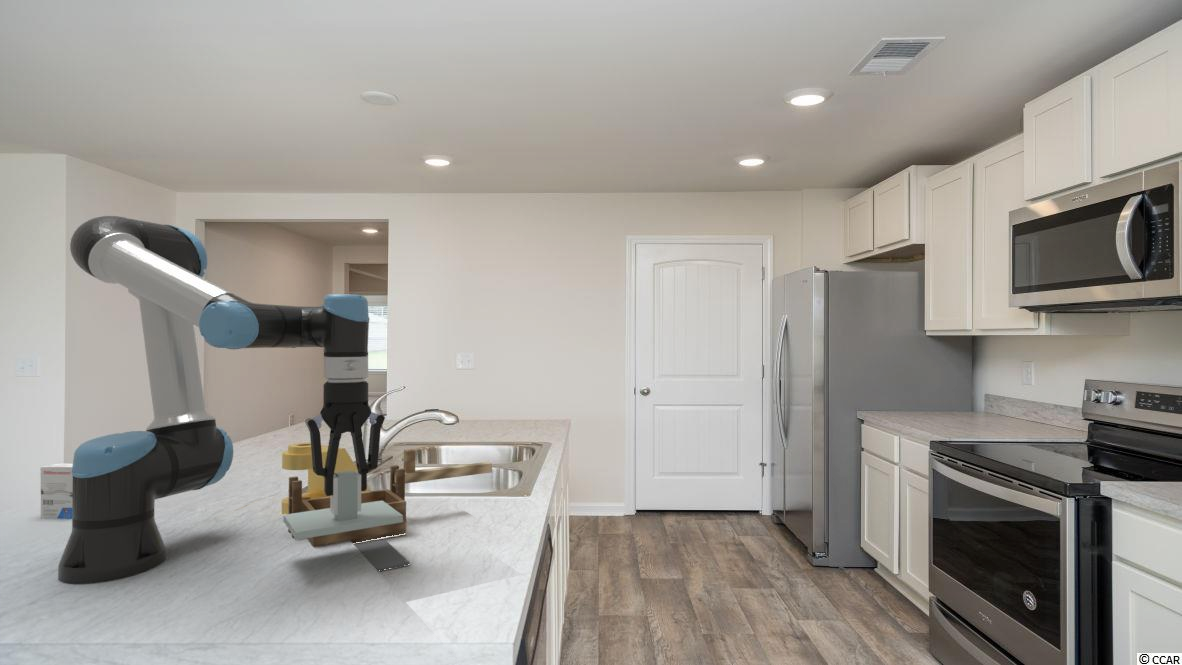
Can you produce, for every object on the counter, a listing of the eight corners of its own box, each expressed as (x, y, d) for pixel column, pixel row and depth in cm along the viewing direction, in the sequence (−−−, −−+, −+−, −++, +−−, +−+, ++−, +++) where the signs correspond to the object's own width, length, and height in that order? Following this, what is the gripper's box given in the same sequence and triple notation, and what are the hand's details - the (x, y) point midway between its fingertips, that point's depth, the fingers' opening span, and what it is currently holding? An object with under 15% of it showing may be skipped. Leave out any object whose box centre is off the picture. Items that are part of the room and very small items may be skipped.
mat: (288, 590, 102) (288, 586, 102) (274, 562, 114) (274, 559, 114) (409, 565, 113) (409, 562, 113) (385, 542, 126) (385, 539, 126)
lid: (295, 540, 103) (296, 484, 103) (283, 521, 114) (283, 470, 114) (402, 522, 113) (403, 471, 114) (382, 506, 124) (382, 460, 124)
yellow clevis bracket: (299, 521, 140) (299, 449, 140) (272, 515, 145) (273, 446, 145) (369, 501, 158) (369, 437, 158) (344, 496, 162) (344, 434, 162)
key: (397, 484, 139) (397, 452, 139) (394, 482, 141) (394, 450, 141) (491, 472, 152) (492, 442, 152) (488, 470, 154) (488, 441, 154)
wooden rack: (300, 553, 119) (300, 490, 119) (288, 535, 130) (288, 477, 130) (416, 533, 132) (417, 476, 132) (396, 517, 143) (397, 465, 143)
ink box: (93, 513, 145) (93, 462, 145) (73, 520, 140) (74, 467, 140) (59, 512, 146) (60, 462, 146) (38, 518, 141) (39, 466, 141)
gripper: (300, 383, 105) (300, 524, 104) (397, 379, 114) (397, 509, 114) (293, 381, 111) (292, 513, 111) (385, 377, 120) (385, 500, 120)
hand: (345, 511), depth 112 cm, fingers closed on lid, 3 cm apart
